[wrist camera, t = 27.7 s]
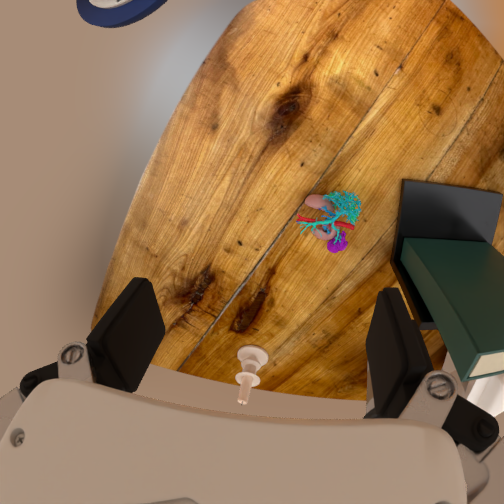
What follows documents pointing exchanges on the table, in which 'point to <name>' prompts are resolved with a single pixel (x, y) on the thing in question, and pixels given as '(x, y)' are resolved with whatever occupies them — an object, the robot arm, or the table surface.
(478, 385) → the folded paper
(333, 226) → the anatomy model
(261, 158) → the table surface
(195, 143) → the table surface
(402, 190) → the book stand
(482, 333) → the book
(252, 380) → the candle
